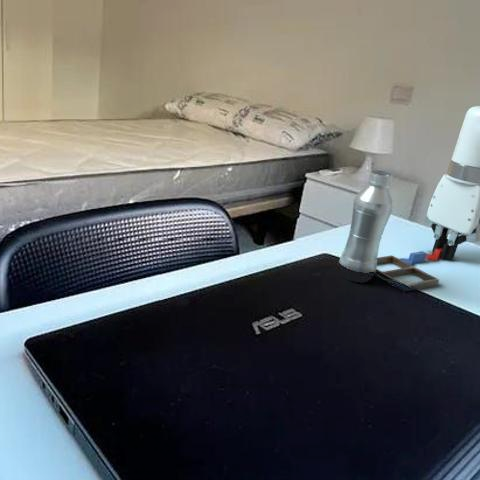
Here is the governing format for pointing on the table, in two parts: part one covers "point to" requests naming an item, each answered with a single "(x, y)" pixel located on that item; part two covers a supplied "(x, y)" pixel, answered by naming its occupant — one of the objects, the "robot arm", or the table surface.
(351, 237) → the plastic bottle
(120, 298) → the table surface
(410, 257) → the blue stepped block
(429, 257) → the red stepped block
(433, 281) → the cutlery tray
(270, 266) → the table surface
